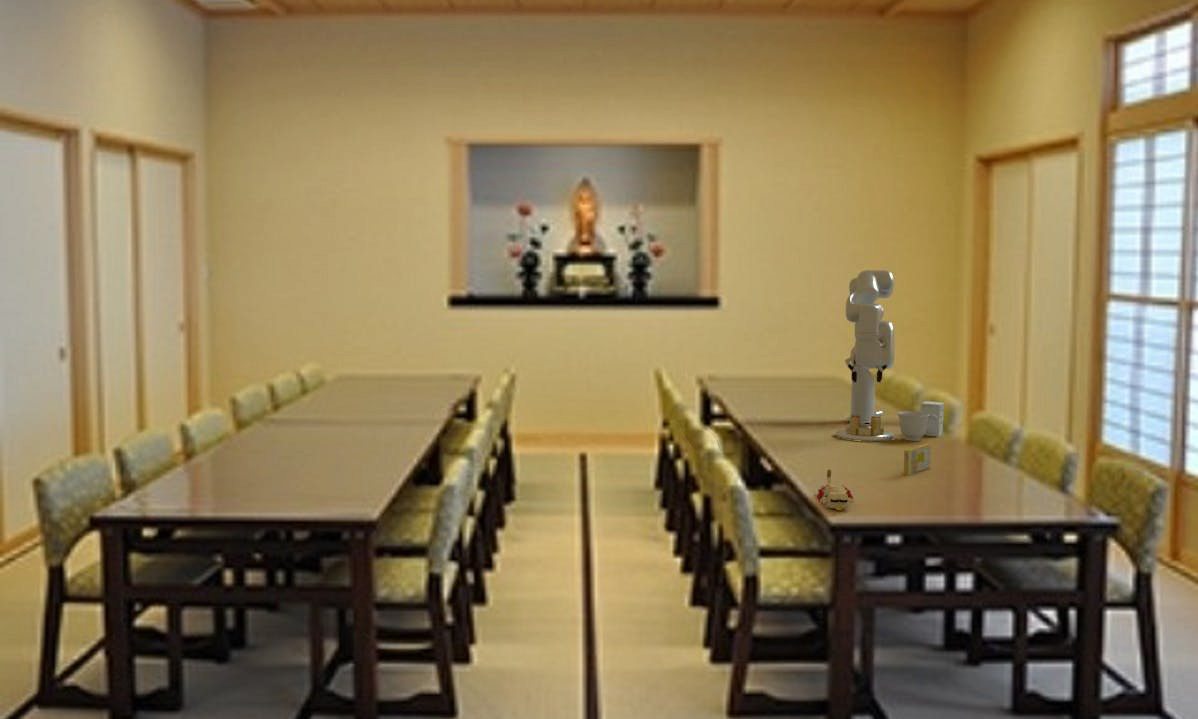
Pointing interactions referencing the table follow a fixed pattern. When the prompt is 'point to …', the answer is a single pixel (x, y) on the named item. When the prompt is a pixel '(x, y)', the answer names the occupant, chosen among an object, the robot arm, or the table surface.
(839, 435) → the cap plate
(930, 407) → the supplement box
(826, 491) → the cat figure
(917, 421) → the teacup
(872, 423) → the wooden block ring
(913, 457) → the candy box
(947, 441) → the table surface
